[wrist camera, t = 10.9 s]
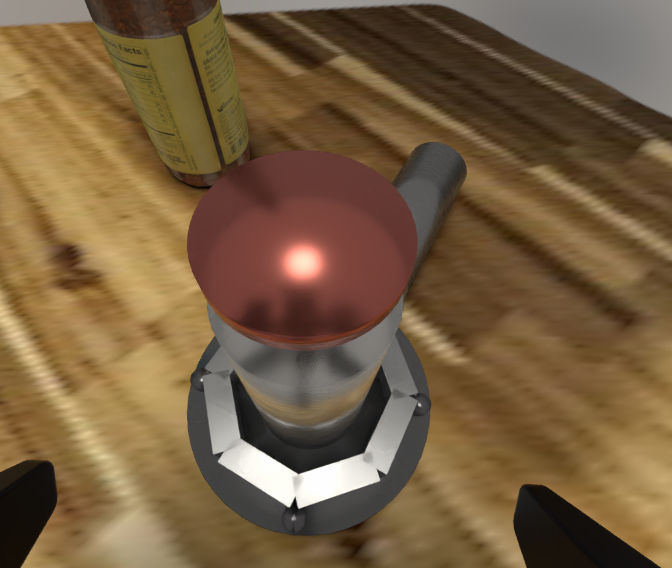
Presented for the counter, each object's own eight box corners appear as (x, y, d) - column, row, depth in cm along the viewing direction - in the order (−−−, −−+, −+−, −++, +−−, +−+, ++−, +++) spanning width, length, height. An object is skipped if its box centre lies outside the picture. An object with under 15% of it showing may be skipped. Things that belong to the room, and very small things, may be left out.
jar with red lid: (359, 452, 18) (437, 355, 7) (252, 447, 18) (144, 338, 7) (361, 350, 21) (419, 151, 9) (266, 345, 21) (205, 137, 9)
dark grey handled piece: (363, 594, 16) (376, 617, 13) (139, 447, 19) (100, 432, 15) (510, 223, 27) (539, 181, 23) (354, 158, 29) (359, 111, 26)
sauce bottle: (229, 121, 31) (123, -375, 14) (268, 171, 28) (197, -356, 11) (147, 151, 29) (-103, -388, 11) (181, 207, 26) (-73, -370, 9)
